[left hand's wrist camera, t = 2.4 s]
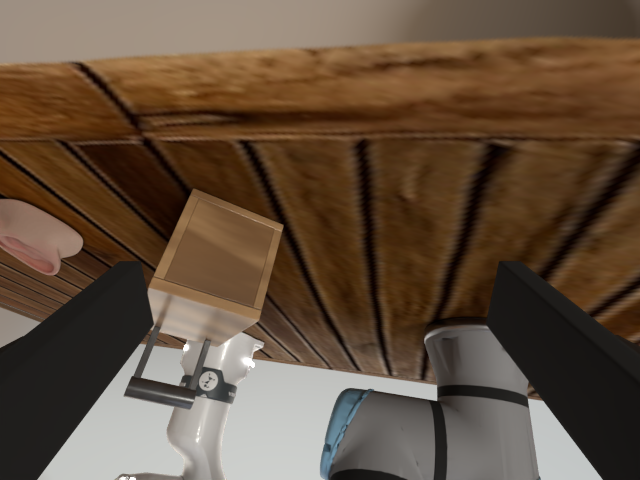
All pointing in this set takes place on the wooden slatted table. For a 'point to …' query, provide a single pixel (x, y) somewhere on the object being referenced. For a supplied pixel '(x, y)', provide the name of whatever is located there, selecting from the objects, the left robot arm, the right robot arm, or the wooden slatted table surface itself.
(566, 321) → the left robot arm
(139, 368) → the lid
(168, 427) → the right robot arm
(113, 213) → the wooden slatted table surface
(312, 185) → the wooden slatted table surface
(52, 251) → the anatomical model
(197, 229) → the chest
